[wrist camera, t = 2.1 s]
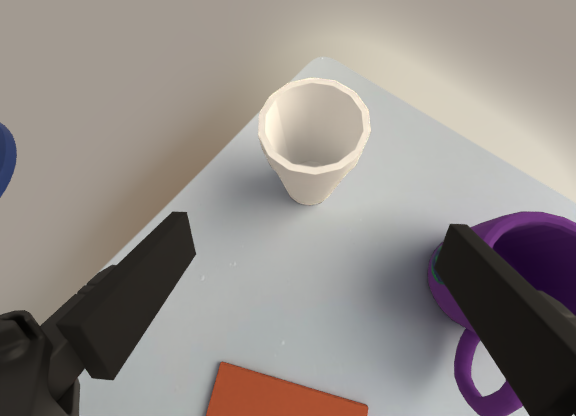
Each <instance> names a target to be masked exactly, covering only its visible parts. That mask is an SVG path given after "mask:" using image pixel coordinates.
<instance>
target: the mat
mask: <svg viewBox="0 0 576 416" xmlns="http://www.w3.org/2000/svg"><path fill="white" fill-rule="evenodd" d="M367 414H368V406H367V405H365V404H362V403H358V402H355V401H352V400H348V399H345V398H342V397H338V396H335V395H332V394H328V393H325V392H322V391H318V390H315V389H312V388H308V387H305V386H302V385H298V384H295V383H292V382H288V381H285V380H282V379H278V378H275V377H272V376H268V375H265V374H262V373H258V372H255V371H252V370H248V369H245V368H242V367H238V366H235V365H232V364H228V363H225V362H221V363H220V367H219V370H218V374H217V377H216V381H215V385H214V388H213V392H212V395H211V399H210V403H209V406H208V410H207V413H206V416H367Z"/></svg>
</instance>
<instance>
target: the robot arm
mask: <svg viewBox="0 0 576 416" xmlns="http://www.w3.org/2000/svg"><path fill="white" fill-rule="evenodd" d="M195 255H196V252H195V247H194V243H193V238H192V234H191V229H190V225H189V220H188V216H187V212H172V213H171V214H170V215H169V216H167V217H166V218H165V219H164V220H163V221H162V222H161V223H160V224H159V225H158V226H157V227H156V228H155V229H154V230H153V231H152V232H151V233H150V234H149V235H148V236H147V237H146V238H145V239H144V240H142V241H141V242H140V243H139V244H138V245H137V246H136V247H135V248H134V249H133V250H132V251H131V252H130V253H129V254H128V255H127V256H126V257H125V258H124V259H123V260H122V261H121V262H120V263H118V264H117V265H111V266H109V267H108V268H106V269H104V270H103V271H101V272H99V273H98V274H97V275H95V276H94V277H93V278H92V279H91V280H90V281H89V282H88V283H87V285H85V286H83V287H82V288H81V289H80V290H79V291H78V293H77V294H75V295H74V296H72V297H71V298H70V299H69V300H68V301H67V302H66V303H65V304H64V305H63V306H62V307H60V308H59V309H58V310H57V311H56V312H55V313H54V314H53V315H52V316H51V317H49V318H48V319H47V320H46V321H45V322H44V323H43V324H42V325H41V326H39V325H38V323H37V322H36V321H35V319H34V318H33V316H32V315H31V314H30V313H29V312H27V311H25V310H24V311H23V310H22V311H12V312H9V313H5V314H2V315H0V416H79V399H80V383H79V380H78V376H79V375H80V374H81V373H82V371H83V370H84V369H86V370H87V372H88V373H89V375H90V376H91V378H95V379H105V380H114V379H115V377H116V375H117V374H118V372H119V371H120V369H121V368H122V366H123V365H124V363H125V362H126V360H127V359H128V357H129V356H130V354H131V353H132V351H133V350H134V348H135V346H136V345H137V343H138V342H139V340H140V339H141V337H142V336H143V334H144V333H145V331H146V330H147V328H148V327H149V325H150V324H151V322H152V321H153V319H154V318H155V316H156V314H157V313H158V311H159V310H160V308H161V307H162V305H163V304H164V302H165V301H166V299H167V298H168V296H169V295H170V293H171V292H172V290H173V289H174V287H175V285H176V284H177V282H178V281H179V279H180V278H181V276H182V275H183V273H184V272H185V270H186V269H187V267H188V266H189V264H190V263H191V261H192V260H193V258H194V257H195ZM434 269H435V270H436V272H437V274H438V275H439V277H440V278H441V280H442V281H443V283H444V284H445V286H446V287H447V289H448V290H449V292H450V294H451V295H452V297H453V298H454V300H455V301H456V303H457V304H458V306H459V307H460V309H461V311H462V312H463V314H464V315H465V317H466V318H467V320H468V321H469V323H470V324H471V326H472V327H473V329H474V331H475V332H476V334H477V335H478V337H479V338H480V340H481V341H482V343H483V344H484V346H485V348H486V349H487V351H488V352H489V354H490V355H491V357H492V358H493V360H494V361H495V363H496V364H497V366H498V368H499V369H500V371H501V372H502V374H503V375H504V377H505V378H506V380H507V381H508V383H509V385H510V386H511V388H512V389H513V391H514V392H515V394H516V395H517V397H518V398H519V400H520V401H521V403H522V405H523V406H524V408H525V409H526V411H527V412H528V414H529V415H530V416H572V415H573V414H574V415H575V416H576V317H575V315H574V314H573V313H572V312H571V311H570V310H568V309H567V308H566V307H565V306H564V305H563V304H562V303H561V302H559V301H557V300H556V299H554V298H553V297H551V296H549V295H548V294H546V293H545V292H543V291H538V290H536V289H535V288H534V287H533V286H532V285H531V284H530V283H528V282H527V281H526V280H525V279H524V278H523V277H522V276H521V275H520V274H519V273H518V272H517V271H516V270H515V269H514V268H512V267H511V266H510V265H509V264H508V263H507V262H506V261H505V260H504V259H503V258H502V257H501V256H500V255H499V254H498V253H496V252H495V251H494V250H493V249H492V248H491V247H490V246H489V245H488V244H487V243H486V242H485V241H484V240H483V239H482V238H480V237H479V236H478V235H477V234H476V233H475V232H474V231H473V230H472V229H471V228H470V227H469V226H468V225H464V224H450V225H449V228H448V231H447V233H446V236H445V239H444V242H443V244H442V247H441V250H440V252H439V255H438V258H437V260H436V263H435V266H434Z"/></svg>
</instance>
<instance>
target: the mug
mask: <svg viewBox="0 0 576 416" xmlns="http://www.w3.org/2000/svg"><path fill="white" fill-rule="evenodd" d="M470 228H471V229H472V230H473V231H474V232H475V233H476V234H477V235H478V236H479V237H480V238H482V239H483V240H484V241H485V242H486V243H487V244H488V245H489V246H490V247H491V248H492V249H493V250H494V251H495V252H496V253H498V254H499V255H500V256H501V257H502V258H503V259H504V260H505V261H506V262H507V263H508V264H509V265H510V266H511V267H512V268H514V269H515V270H516V271H517V272H518V273H519V274H520V275H521V276H522V277H523V278H524V279H525V280H526V281H527V282H528V283H530V284H531V285H532V286H533V287H534V288H535V289H536V290H538V291H543V292H545V293H546V294H548V295H549V296H551V297H553V298H554V299H556V300H557V301H559V302H561V303H562V304H563V305H564V306H565V307H566V308H567V309H568V310H570V311H571V312H572V313H573V314H574V315H575V317H576V223H575V222H573V221H571V220H568V219H566V218H564V217H561V216H556V215H552V214H548V213H544V212H518V213H513V214H509V215H505V216H501V217H498V218H495V219H492V220H489V221H486V222H483V223H480V224H478V225H475V226H473V227H470ZM442 244H443V242H442V243H441V244H440V245H439V246H438V248H437V249H436V250H435V251H434V253H433V255H432V257H431V259H430V261H429V268H428V282H429V287H430V289H431V292H432V294H433V297H434V299H435V300H436V302H437V303H438V305H439V306H440V308H441V309H442V310H443V311H444V312H445V313H446V314H447V315H448V316H449V317H450V318H451V319H452V320H453V321H455V322H457V323H458V324H460V325H462V326H463V327H465V328H466V329H465V331H464V332H463V334H462V336H461V338H460V340H459V343H458V346H457V350H456V355H455V361H454V375H455V379H456V382H457V385H458V388H459V390H460V392H461V394H462V395H463V397H464V398H465V400H466V402H467V403H468V404H469V405H470V406H471V408H472V409H473V410H474V411H475V412H476V413H477V414H478V415H480V416H507V415H509V414H511V413H513V412H514V411H516V410H518V409H519V408H521V407H522V406H523V405H522V403H521V401H520V400H519V398H518V397H517V395H516V394H515V392H514V391H513V389H512V388H511V386H510V385H509V383H508V381H507V380H506V382H505V383H504V384H503V386H502V387H501V388H500V389H499V390H498V391H496V392H494V393H493V394H491V395H488V396H484V397H482V396H481V394H480V393H479V392H478V390H477V389H476V387H475V385H474V383H473V380H472V378H471V365H472V360H473V355H474V352H475V349H476V346H477V344H478V343H479V341H480V338H479V337H478V335H477V334H476V332H475V331H474V329H473V327H472V326H471V324H470V323H469V321H468V320H467V318H466V317H465V315H464V314H463V312H462V311H461V309H460V307H459V306H458V304H457V303H456V301H455V300H454V298H453V297H452V295H451V294H450V292H449V290H448V289H447V287H446V286H445V284H444V283H443V281H442V280H441V278H440V277H439V275H438V274H437V272H436V270H435V269H434V266H435V263H436V260H437V258H438V255H439V252H440V250H441V247H442Z"/></svg>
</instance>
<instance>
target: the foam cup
mask: <svg viewBox="0 0 576 416" xmlns="http://www.w3.org/2000/svg"><path fill="white" fill-rule="evenodd" d="M370 133H371V128H370V119H369V110H368V109H367V107H366V106H365V104H364V103H363V102H362V100H361V99H360V97H359V96H358V95H357V93H356V92H355V91H353V90H351V89H349V88H348V87H346V86H344V85H342V84H341V83H339V82H337V81H335V80H328V79H321V78H313V77H311V78H307V79H302V80H298V81H294V82H289V83H288V84H286V85H285V86H283V87H282V88H280V89H279V90H277V91H276V92H274V93H273V94H272V95H270V97H269V98H268V100H267V102H266V103H265V105H264V107H263V108H262V110H261V112H260V113H259V128H258V137H259V140H260V143H261V147H262V150H263V152H264V154H265V156H266V158H267V160H268V162H269V164H270V166H271V168H272V169H273V170H275V171H276V172H277V174H278V176H279V177H280V179H281V181H282V183H283V185H284V186H285V188H286V190H287V192H288V193H289V195H290V197H291V198H292V199H294V200H295V201H297V202H298V203H299V204H304V205H309V206H310V205H314V204H319V203H321V202H322V201H324V200H325V199H326V198H327V197H328V196H329V195H330V194H331V193H332V192H333V190H334V189H335V188H336V187H337V185H338V184H339V183H340V182H341V180H342V179H343V178H344V177H345V175H346V174H347V173H348V172H349V171H350V170H352V169H353V168H354V167H355V166H356V164H357V162H358V160H359V158H360V155H361V153H362V151H363V149H364V147H365V144H366V142H367V140H368V138H369V135H370Z"/></svg>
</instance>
